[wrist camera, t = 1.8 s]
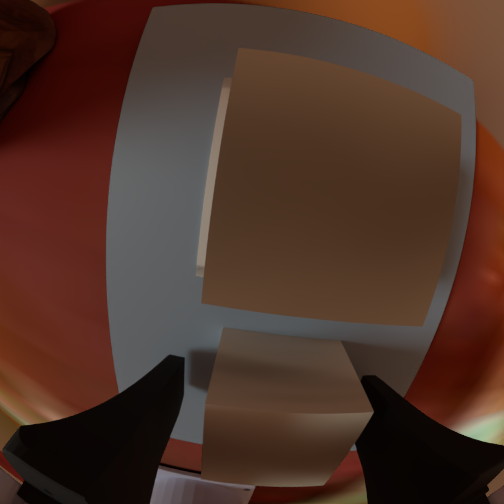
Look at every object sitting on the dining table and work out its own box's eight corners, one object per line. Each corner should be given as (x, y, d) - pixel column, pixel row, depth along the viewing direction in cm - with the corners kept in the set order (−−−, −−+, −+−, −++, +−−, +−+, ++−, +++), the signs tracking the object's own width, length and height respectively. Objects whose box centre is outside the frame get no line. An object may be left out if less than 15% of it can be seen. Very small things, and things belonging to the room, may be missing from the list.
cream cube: (310, 417, 11) (323, 485, 7) (214, 408, 11) (200, 479, 7) (340, 340, 10) (373, 411, 6) (223, 327, 10) (205, 403, 6)
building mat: (367, 439, 12) (370, 449, 12) (130, 415, 12) (125, 425, 11) (463, 84, 8) (474, 80, 7) (158, 16, 8) (152, 6, 7)
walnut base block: (365, 274, 9) (422, 326, 5) (225, 253, 9) (201, 303, 5) (390, 136, 8) (461, 114, 4) (247, 104, 8) (238, 47, 4)
